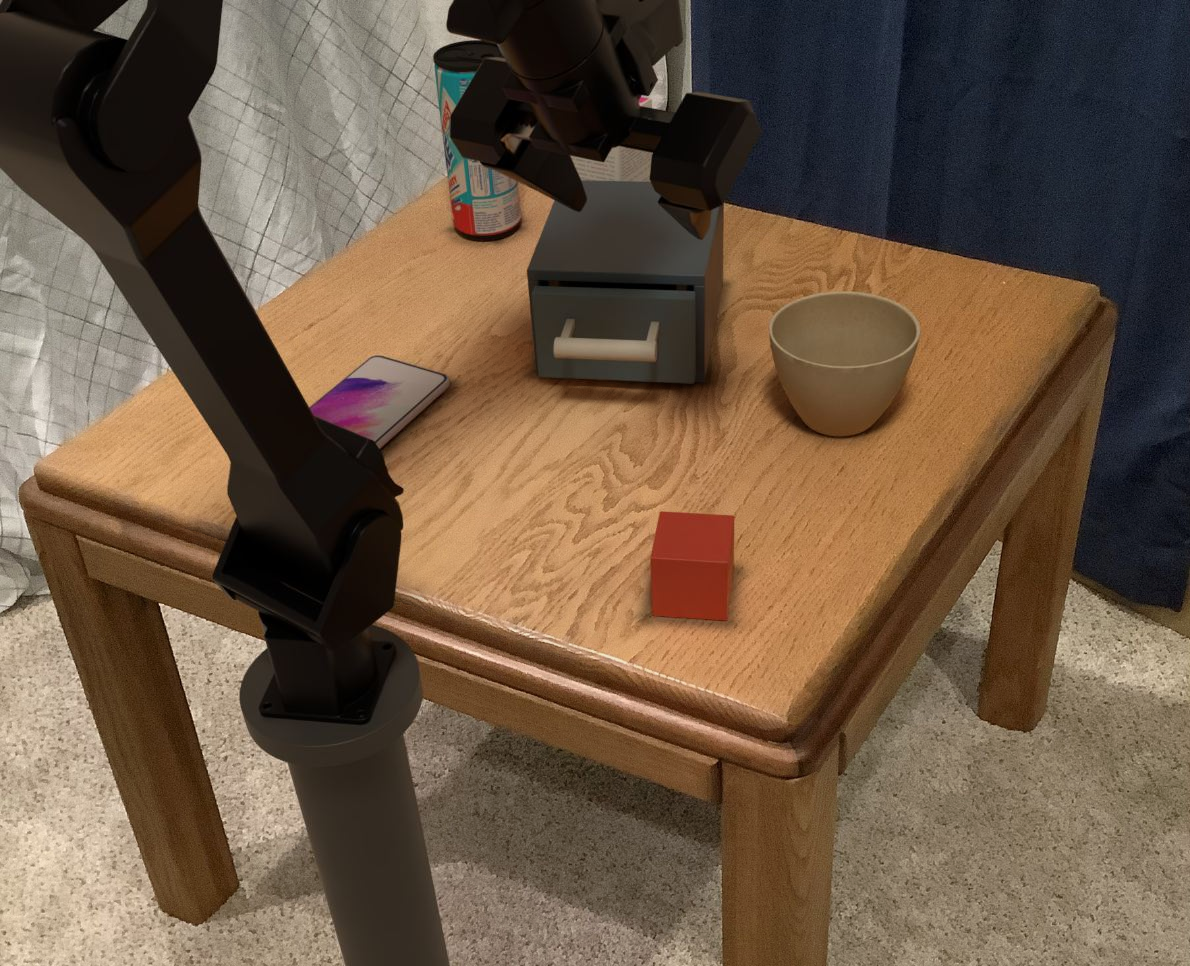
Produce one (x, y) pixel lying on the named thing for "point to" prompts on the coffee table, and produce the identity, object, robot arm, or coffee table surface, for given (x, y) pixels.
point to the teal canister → (475, 191)
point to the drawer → (615, 331)
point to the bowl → (842, 357)
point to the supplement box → (618, 163)
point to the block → (692, 565)
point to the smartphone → (380, 397)
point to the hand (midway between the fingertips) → (641, 219)
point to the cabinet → (632, 251)
